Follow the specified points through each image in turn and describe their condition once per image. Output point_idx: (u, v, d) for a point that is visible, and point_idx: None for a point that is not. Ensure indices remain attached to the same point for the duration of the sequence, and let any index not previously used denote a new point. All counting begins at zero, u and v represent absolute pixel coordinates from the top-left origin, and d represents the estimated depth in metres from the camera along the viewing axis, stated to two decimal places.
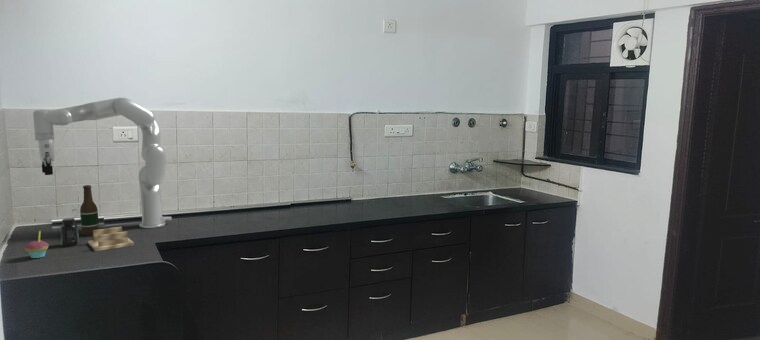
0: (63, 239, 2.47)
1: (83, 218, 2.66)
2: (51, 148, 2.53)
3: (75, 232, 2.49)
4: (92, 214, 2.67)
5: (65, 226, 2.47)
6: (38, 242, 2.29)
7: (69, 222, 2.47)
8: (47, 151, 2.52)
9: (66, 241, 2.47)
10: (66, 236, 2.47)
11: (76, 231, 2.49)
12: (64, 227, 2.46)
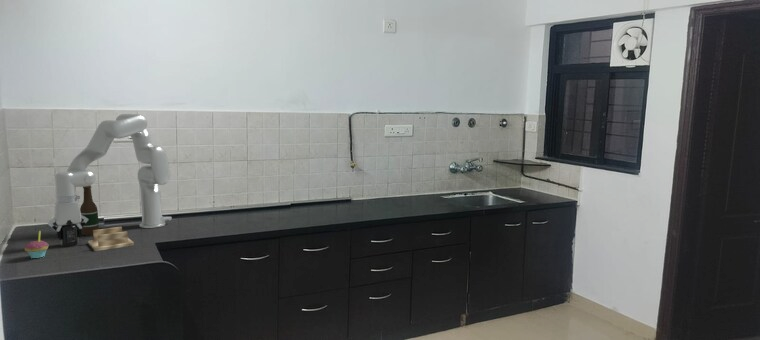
0: (63, 239, 2.47)
1: None
2: None
3: (75, 232, 2.49)
4: (92, 214, 2.67)
5: (65, 226, 2.47)
6: (38, 242, 2.29)
7: (69, 222, 2.47)
8: None
9: (66, 241, 2.47)
10: (66, 236, 2.47)
11: (76, 231, 2.49)
12: (64, 227, 2.46)
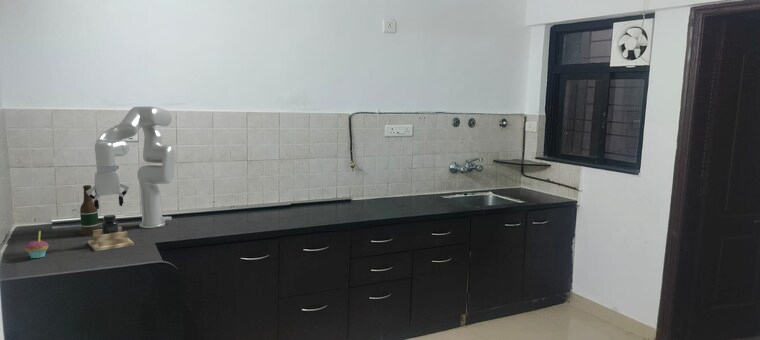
0: None
1: (83, 218, 2.66)
2: None
3: (116, 229, 2.50)
4: (92, 214, 2.67)
5: (106, 223, 2.48)
6: (38, 242, 2.29)
7: (110, 219, 2.48)
8: None
9: None
10: (108, 233, 2.48)
11: (117, 228, 2.50)
12: (106, 224, 2.47)
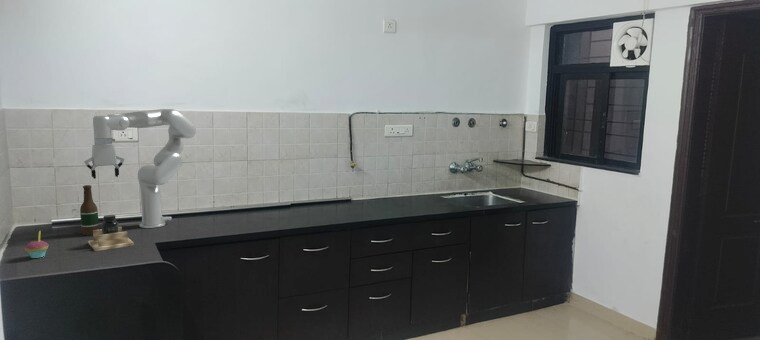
0: None
1: (83, 218, 2.66)
2: None
3: (116, 229, 2.50)
4: (92, 214, 2.67)
5: (106, 223, 2.48)
6: (38, 242, 2.29)
7: (110, 219, 2.48)
8: None
9: None
10: (108, 233, 2.47)
11: (117, 228, 2.50)
12: (105, 224, 2.47)
